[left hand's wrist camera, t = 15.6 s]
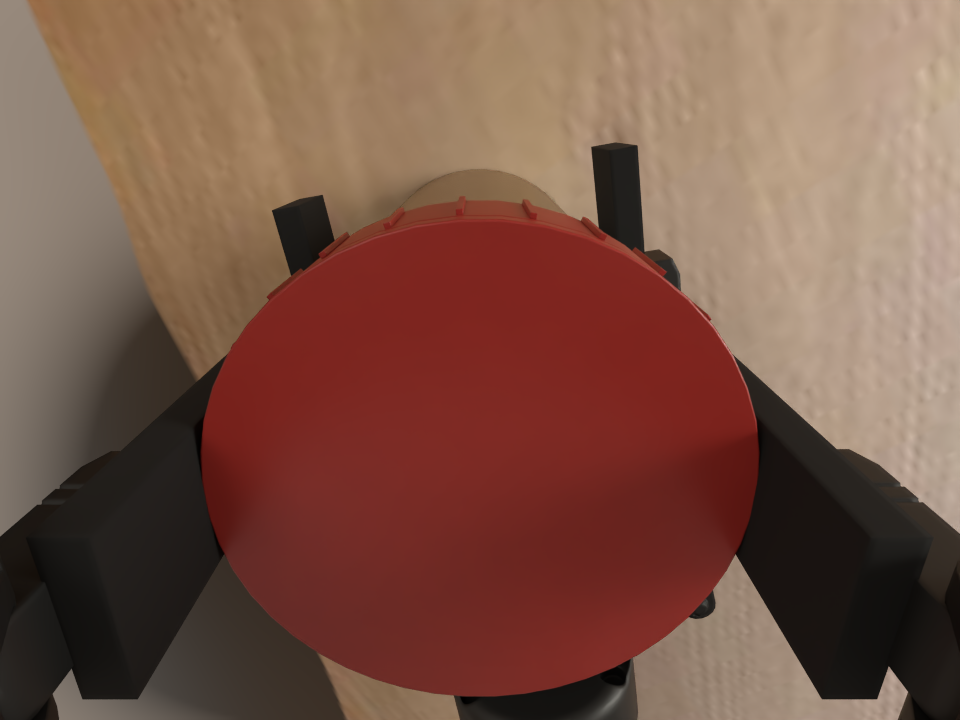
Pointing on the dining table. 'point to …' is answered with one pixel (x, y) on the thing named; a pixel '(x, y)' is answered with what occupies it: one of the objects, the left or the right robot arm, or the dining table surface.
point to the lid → (479, 451)
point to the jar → (480, 190)
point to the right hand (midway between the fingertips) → (453, 175)
